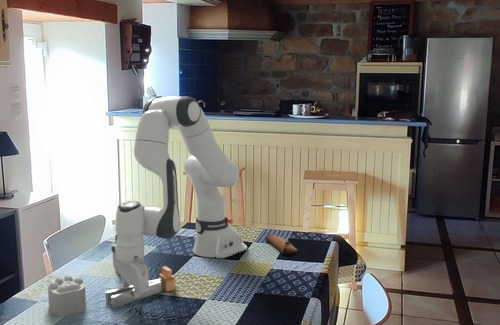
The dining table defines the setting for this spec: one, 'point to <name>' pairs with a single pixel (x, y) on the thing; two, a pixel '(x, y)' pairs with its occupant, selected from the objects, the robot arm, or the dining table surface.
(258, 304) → the dining table surface
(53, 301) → the lumpy-topped squat cylinder
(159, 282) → the bar
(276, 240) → the brown tapered cylinder
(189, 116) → the robot arm
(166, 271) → the collar
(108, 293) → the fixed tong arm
